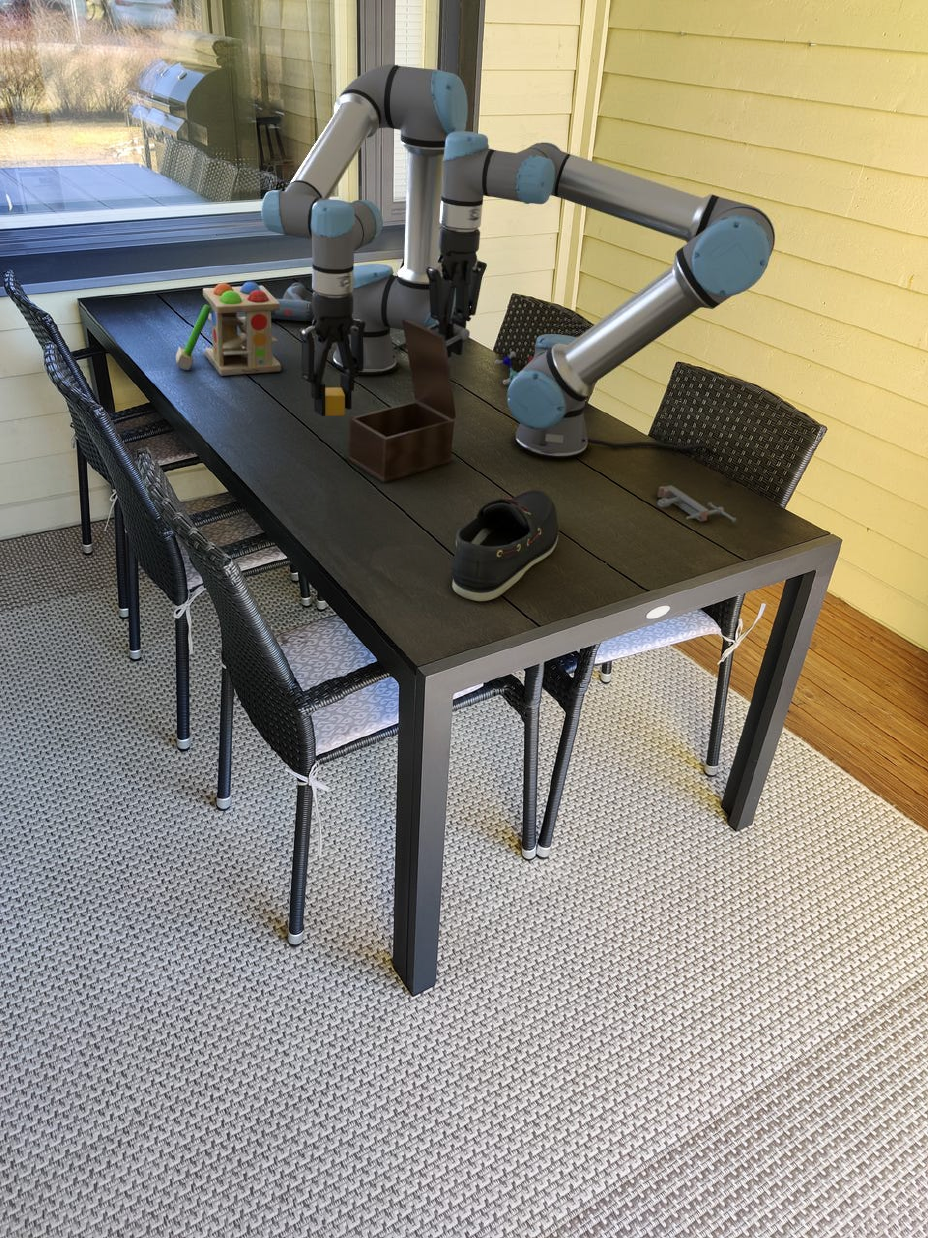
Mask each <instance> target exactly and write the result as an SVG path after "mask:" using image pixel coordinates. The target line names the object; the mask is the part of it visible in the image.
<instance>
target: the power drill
mask: <svg viewBox="0 0 928 1238" xmlns="http://www.w3.org/2000/svg"><path fill="white" fill-rule="evenodd" d="M307 295H308V290H307V287H306V285H304V284H303V283H301V282H293V283H292V284H291V285H290V286H289V287H288V288H287V289H286V291H285V292H284V294H283V297H282V298H275V299H276V300H277V301H278V302H279V303H280V310H271V319H274V320H275V319H276V320H283V321H294V322H295V321H297V322H313V320H314V313H313V301H307V300H305V299H306V297H307Z"/></svg>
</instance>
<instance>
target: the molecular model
mask: <svg viewBox="0 0 928 1238" xmlns="http://www.w3.org/2000/svg"><path fill="white" fill-rule="evenodd" d="M516 355H517V354H516V352H515V351H511V352H510V354H509V356H508V357H504V359H503V360H500V359H496V360H494V363H495V365H497V366H499V365H500V364H504V365H506V366H507V367H508V369H509V371H510V373H509V377H508V379H504V380H502V385H504V386H510V384H511V381H512V380H513V378H514V376H515V375H516V374H518V373H519V372H517V371H516V370H514V369H513V367H512V365H511V362H512V361H511V359H512V358H514V357H515V356H516ZM533 358H534V356H531V357H529V358H528V363H529V362H530V361H531V360H532V359H533Z"/></svg>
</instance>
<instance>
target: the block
mask: <svg viewBox="0 0 928 1238" xmlns="http://www.w3.org/2000/svg"><path fill="white" fill-rule="evenodd" d="M345 415H346V408H345V395H344V392H343V389H342V387H340V386H339V387H325V416H324V417H328V416H329V417H331V416H345Z"/></svg>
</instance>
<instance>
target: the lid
mask: <svg viewBox="0 0 928 1238" xmlns="http://www.w3.org/2000/svg"><path fill="white" fill-rule="evenodd" d="M402 323H403V328H404V330H403V333H404V339H405V343H406V346H405V347H406V352H407V357H408V364H409V370H410V376H411V381H412V388H413V393H414V399H415V401H418V402H420V403H422V404H424V405H425V406H427V407H429V408H431V409H433V410H435V411H437V412H438V413H440V414H442V415H444V416H446V417H448V418H450V419H451V420H455V419H457V414H456V407H455V400H454V393H453V392H454V391H453V385H452V377H451V370H450V364H449V363H450V362H449V357H448V355H447V348H446V347H447V346H448V345H450V344H452V343H454V342H456V341H458V340H459V339H463V341H467V340H468V339H469V338H470V334H471V333H470V330H469V329H467V328H466V329H465V328H463V327H461V326H459V325H456V324H454V326H453V335H454V337H453V338H451V339H449V340H447V341H446V340H445V336H444V335H442V334H439V333H437V332H435V331H433V330H434V329H436V328H439V321H437V320H436V322H435V324H433V325H432V326H430V327H428V328H427V327H424V326H422V325H420V324H418V323H416V322H414V321H411V320H409V319H407V318H404V319H402ZM451 323H452V322H451Z"/></svg>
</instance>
